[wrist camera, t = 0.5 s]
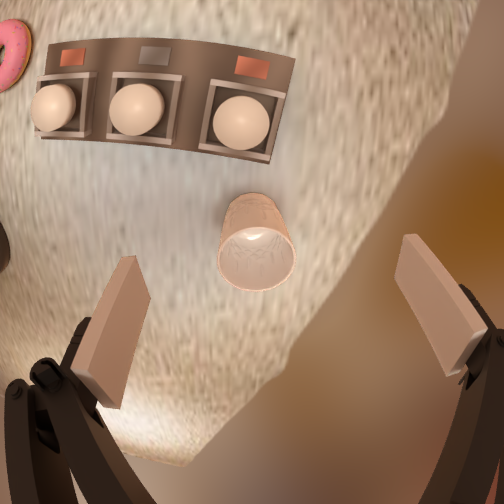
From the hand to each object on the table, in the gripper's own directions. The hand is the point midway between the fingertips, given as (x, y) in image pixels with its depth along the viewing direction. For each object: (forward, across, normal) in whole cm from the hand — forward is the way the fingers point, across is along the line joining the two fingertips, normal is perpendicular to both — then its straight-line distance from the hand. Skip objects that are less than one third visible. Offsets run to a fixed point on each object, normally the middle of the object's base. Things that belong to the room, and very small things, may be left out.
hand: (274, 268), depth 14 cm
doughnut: (+23, -32, +21) cm, 45 cm away
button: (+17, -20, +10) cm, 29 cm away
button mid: (+18, -11, +7) cm, 22 cm away
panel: (+23, -10, +8) cm, 26 cm away
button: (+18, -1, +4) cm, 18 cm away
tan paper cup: (+23, -1, -9) cm, 25 cm away
